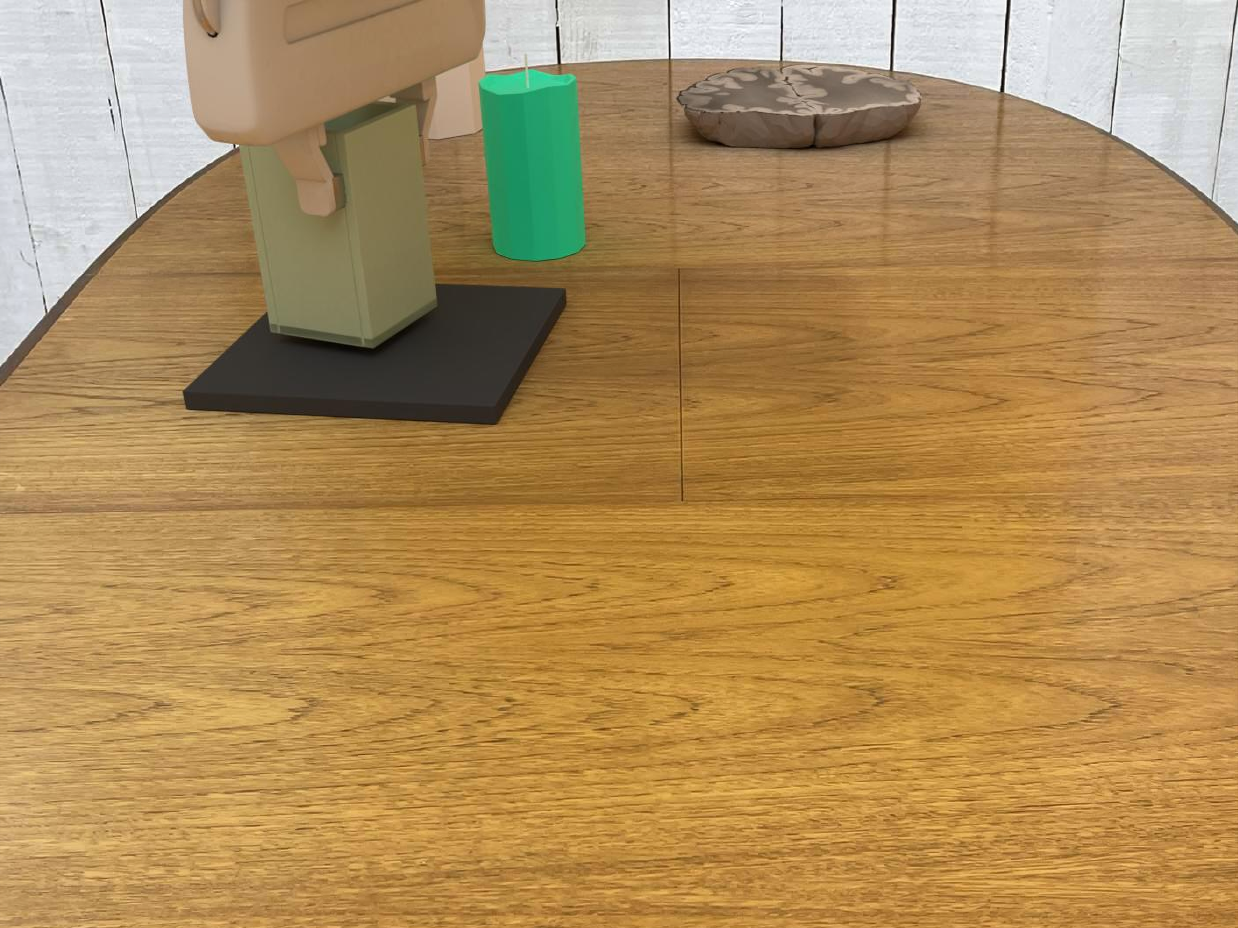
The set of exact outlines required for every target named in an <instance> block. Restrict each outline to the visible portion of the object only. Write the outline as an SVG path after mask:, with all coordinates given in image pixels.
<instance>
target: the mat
mask: <svg viewBox="0 0 1238 928" xmlns="http://www.w3.org/2000/svg"><path fill="white" fill-rule="evenodd" d="M435 288H436V297H437V307H435V308H434V309H432V310H431V311H429V312H428V313H426V314H425V315H423V316H422V317H420V318H419V319H417V320H416V321H414V322H413V323H411V324H410V325H408V326H407V327H405V328H404V329H402V330H401V331H399V332H398V333H396V334H394V335H393V336H391V337H390V338H388V339H387V340H385V341H384V342H382V343H381V344H379V345H378V346H376V347H375V348H368V347H361V346H354V345H348V344H342V343H336V342H329V341H323V340H317V339H311V338H304V337H298V336H292V335H286V334H280V333H273V332H271V330H270V324H269V318H268V313H267V311H266V312H265V313H264V314H262V315H261V316H260V318H258V319H257V320H256V321H255V322H254V323H253V324H252V325H251V326H250V327H249V328H248V329H246V331H244V332H243V334H242V335H240V336H239V337H238V338H237V339H236V340H235V341H234V342H233V343H232V344H231V345H230V346H229V347H228V348H227V349H226V350H224V351H223V352H222V353H221V354H220V355H219V356H217V358H216V359H215V360H214V361H212V363H211V364H210V365H208V367H206V368H205V369H204V370H203V371H202V372H201V373H200V374H199V375H198V376H197V377H196V378H195V379H194V380H193V381H191V383H189V385H187V386H186V387H185V388H184V389H183V390H182V396H183V401H184V405H185V409H186V410H199V411H221V412H240V413H241V412H243V413H261V414H280V415H281V414H282V415H302V416H322V417H341V418H342V417H346V418H362V419H363V418H364V419H382V420H383V419H384V420H402V421H403V420H405V421H406V420H407V421H424V422H426V421H427V422H443V423H445V422H447V423H464V424H466V423H467V424H483V425H488V424H489V425H497V424H498V423H499V420H500V419H501V417H502V415H503V414H504V412H505V410H506V409H507V407H508V405H509V403H510V402H511V400H512V398H513V397H514V395H515V393H516V392H517V389H518V388H519V386H520V384H521V383H522V381H523V380H524V377H525V376H526V374H527V373H528V371H529V369H530V368H531V366H532V364H533V363H534V360H535V359H536V357H537V356H538V354H539V352H540V350H541V349H542V347H543V346H544V343H545V342H546V340H547V338H548V336H549V335H550V333H551V331H552V330H553V328H554V327H555V325H556V323H557V321H558V320H559V317H560V316H561V315H562V313H563V311H564V309H565V307H566V306H567V291H566V288H564V287H544V286H543V287H542V286H541V287H540V286H519V285H518V286H516V285H515V286H513V285H487V284H459V283H436V282H435Z"/></svg>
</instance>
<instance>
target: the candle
mask: <svg viewBox="0 0 1238 928" xmlns="http://www.w3.org/2000/svg"><path fill="white" fill-rule="evenodd" d="M523 55H524V68H525V70H523V71H519V72H515V73H510V74H491V73H490V74H488V73H487V74H486V76H485V77H484V78H483V79H481V80H480V81H479V82H478V84H479V95H480V106H481V117H482V138H483V149H484V151H483V152H484V161H485V172H486V183H487V194H488V204H489V216H490V217H489V218H490V227H491V239H492V246H493V249H494V251H495V253H496V254H497V255H500V256H502V257H506V258H508V259H511V260H520V261H530V262H531V261H532V262H537V261H545V260H556V259H562V258H566V257H568V256H571V255H574V254H577V253H579V252H580V251H581V250H582V249H583V248H584V247H585V246H586V245H587V241H586V225H585V224H586V221H585V205H584V189H583V188H584V187H583V169H582V152H581V151H582V150H581V133H580V131H581V130H580V115H579V113H580V112H579V98H578V79H577V77H576V76H575V75H574V74H573V73H565V74H557V75H555V74H551V73H547V72H544V71H540V70H536V69H533V68H530V69H529V68H528V67H529V66H528V65H529V64H528V53H524V54H523Z"/></svg>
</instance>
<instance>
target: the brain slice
mask: <svg viewBox="0 0 1238 928" xmlns="http://www.w3.org/2000/svg"><path fill="white" fill-rule="evenodd" d="M922 99H923V95H922V93H921V91H919V90H918V88H917V87H916V86H915V85H914V84H913V83H912V82H910V81H909V80H908V79H904V78H894V77H891V76H888V75H884V74H882V73H877V72H876V73H874V72H868V71H866V70H861V69H856V68H855V69H854V68H846V67H841V66H834V65H817V64H803V63H801V64H790V65H785V66H782V67H781V68H779V69H777V68H772V67H765V66H763V67H762V66H756V67H739V68H738V67H737V68H733V69H729V70H727V71H725V72H716V73H712V74H709V75H708V76H705V77H704V80H703V79H702V80H699V81H695V82H694V83H692V84H691V85H690V86H688V87H686V88H685V89H681V90H680V91H678V95H677V96H676V97H675V100H676V101H677V102H678V104H679V105H680V106H681V107H683V113H684V115H685V117H686V119H687V120H688V121H690V122H691V123H692V124H693V125H694V126H695V127H696V130H697V132H698V133H699V134H700V135H701V136H702V137H703V138H704V139H706V140H707V141H709V142H715V143H719V144H723V145H725V146H727V147H735V148H738V147H739V148H767V149H798V148H799V149H801V148H809V147H811V146H815V147H816V148H820V149H821V148H836V147H838V148H839V147H842V146H847V145H854V144H865V143H869V142H878V141H883V140H888V139H891V137H894V136H895V135H896V134H897V133H899V132H900V131H902V130H903V129H904V128H905V127H906V125H908V124H910V123H911V121H912V120H913V119H914V118H915V117H916V115H917V114H918V112H919V110H920V109H921V105H922Z"/></svg>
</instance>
